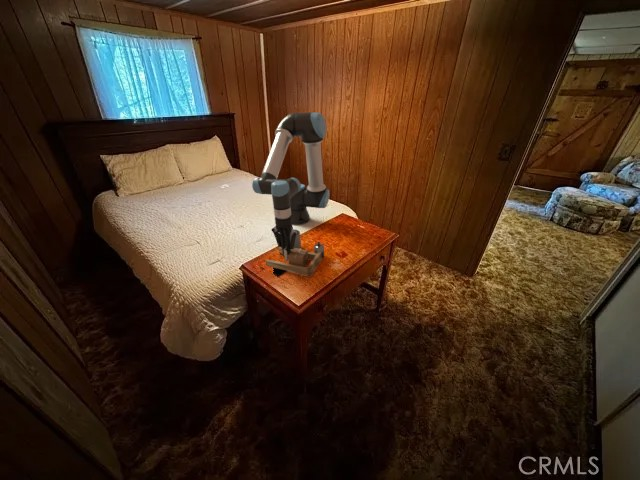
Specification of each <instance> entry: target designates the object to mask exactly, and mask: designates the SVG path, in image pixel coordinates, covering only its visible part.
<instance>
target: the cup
mask: <svg viewBox="0 0 640 480" xmlns="http://www.w3.org/2000/svg"><path fill="white" fill-rule="evenodd" d="M293 229H294V228H293ZM294 230H295V231H296V230H297V231H298V233H297V234H296V238H295V244H294V247H293V248H292V249H294V248H298V249H302V240H301V232H300V230H298V229H294ZM291 236H292V232H291V233H290V242H291Z"/></svg>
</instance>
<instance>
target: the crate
mask: <svg viewBox="0 0 640 480" xmlns="http://www.w3.org/2000/svg"><path fill="white" fill-rule="evenodd" d="M308 252H309V251H308V249H303V248H301V249H298V248H294V249H293V250H292V251H291V253H290V254H289V255H288V258H289V260H288V264H292V265H296V266H301V267H306V266H307V265H308V263H309V259H308Z"/></svg>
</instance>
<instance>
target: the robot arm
mask: <svg viewBox="0 0 640 480" xmlns="http://www.w3.org/2000/svg"><path fill="white" fill-rule="evenodd" d="M326 135H327V122H326V119H325V117H324V115H323V114H322V113H320V112H314V111H313V112H311V111H310V112H292V113H289V114H288V115H286V116H285V117H284V118H283V119H281V121H280V122H279V123H278V125H277V127H276V128H275V131H274V136H275V137H274V140H273V142H272V145H271V148H270V150H269V153H268V156H267V158H266V161H265V164H264V167H263V170H262V171H261V174H260V177H255V178H254V179H252V183H251V184H252V185H251V187H252V191H253V192H254V193H255V194H260V195H270V196H271V197H272V198H271V199H272V205H273V207H272V208H273V215H274V223H275V226H274V227H272V228H271V231H272V234H273V235H274V238H275V240H276V243H277V247H278V248H279V247H281V248H282V251H283V254H282V255H283V256H284V261H285V262H289V258H288V255H289V254H290V253H291V249H292V248H293V247H294V244H295V238H296V234H297V233H298V231H299V230H298V229H295V230H296V231H295V230H294V227H293V225H296V226H301V225H305V224H307V223H308V222H310V220H311V218H310V217H311V216H310V213H309V211H308V208H315V209H325V208H326V207H327V206H328V203H329V200H330V189H327V185H326V184H324V177H323V176H324V175H323V162H322V160H323V159H322V145H321V143H323V141H324V138H325V137H327V136H326ZM294 138H300V139H301V143H302V144H304V150H305V161H306V170H307V178H308V185H307V186H306V185H305V184H303V183H301V181H300V180H299V179H298V178H296V177H290V178H287V179H284V178H283V179H281V178H278V177H279V174H280V171H281V168H282V165H283V162H284V159H285V157H286V154H287V150H288V148H289V145H290V143H292V141H293V140H294ZM297 230H298V231H297ZM291 232H292V236H291V242H290V233H291Z"/></svg>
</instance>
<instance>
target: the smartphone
mask: <svg viewBox="0 0 640 480" xmlns="http://www.w3.org/2000/svg"><path fill="white" fill-rule="evenodd" d="M273 269H274V270H273V271H274V272H273V274H274V275H275V276H274V275H273V274H272V275H273V276H274V277H276V276H277V278H280V277H281V276H283V275H284V274H285V273H288V272H287V271H286V270H282V269H277V268H273Z"/></svg>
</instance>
